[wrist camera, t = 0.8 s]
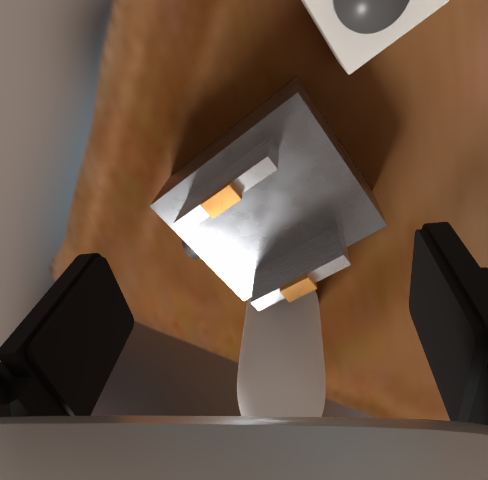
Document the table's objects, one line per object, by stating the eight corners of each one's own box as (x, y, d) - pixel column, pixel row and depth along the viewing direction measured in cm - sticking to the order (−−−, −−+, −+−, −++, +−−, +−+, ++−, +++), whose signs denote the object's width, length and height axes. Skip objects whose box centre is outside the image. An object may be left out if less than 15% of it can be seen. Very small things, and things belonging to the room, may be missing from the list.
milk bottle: (242, 274, 39) (207, 474, 23) (314, 267, 38) (334, 476, 21) (255, 324, 43) (233, 526, 27) (321, 320, 42) (341, 531, 25)
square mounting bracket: (296, 76, 28) (299, 110, 19) (372, 191, 32) (403, 261, 24) (155, 187, 35) (109, 250, 26) (235, 270, 39) (219, 348, 30)
